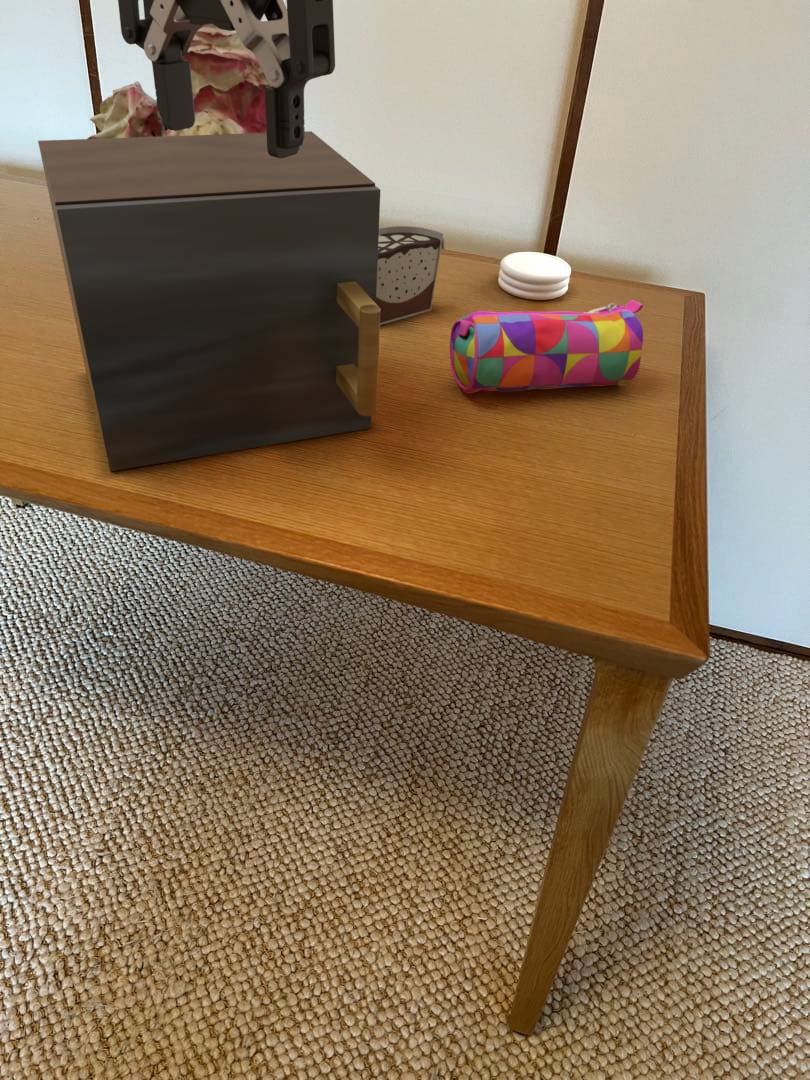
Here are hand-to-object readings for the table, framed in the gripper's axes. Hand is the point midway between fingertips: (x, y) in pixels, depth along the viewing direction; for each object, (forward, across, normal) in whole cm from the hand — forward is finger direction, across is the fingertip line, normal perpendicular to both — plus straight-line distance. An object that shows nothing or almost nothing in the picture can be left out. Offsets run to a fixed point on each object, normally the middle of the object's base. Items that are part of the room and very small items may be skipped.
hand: (230, 141), depth 50 cm
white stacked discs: (+32, -6, +66) cm, 74 cm away
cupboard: (+31, -18, +15) cm, 39 cm away
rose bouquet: (+32, -46, +44) cm, 71 cm away
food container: (+32, -17, +46) cm, 58 cm away
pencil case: (+32, +8, +41) cm, 52 cm away
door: (+31, -7, +8) cm, 33 cm away
